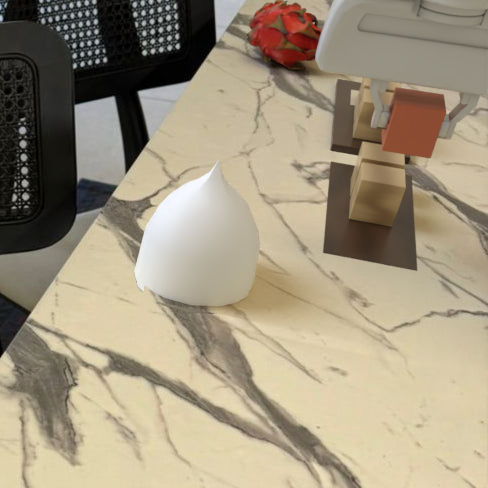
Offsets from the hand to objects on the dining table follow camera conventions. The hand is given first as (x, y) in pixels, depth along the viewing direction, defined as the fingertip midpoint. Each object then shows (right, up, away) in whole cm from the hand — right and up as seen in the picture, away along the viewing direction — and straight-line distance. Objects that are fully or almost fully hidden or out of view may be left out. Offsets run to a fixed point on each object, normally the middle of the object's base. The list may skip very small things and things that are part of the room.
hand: (409, 131), depth 95 cm
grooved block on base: (0, -5, +13) cm, 13 cm away
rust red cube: (0, -1, +1) cm, 1 cm away
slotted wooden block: (+8, +12, +32) cm, 35 cm away
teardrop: (-20, -14, 0) cm, 25 cm away
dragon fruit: (0, +25, +46) cm, 52 cm away
